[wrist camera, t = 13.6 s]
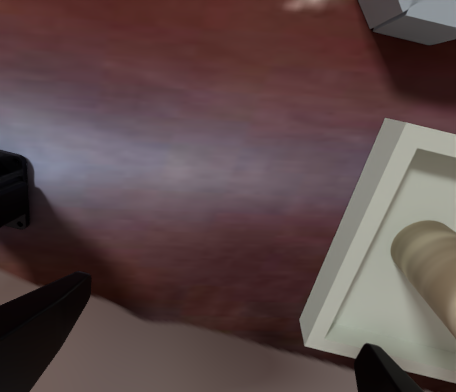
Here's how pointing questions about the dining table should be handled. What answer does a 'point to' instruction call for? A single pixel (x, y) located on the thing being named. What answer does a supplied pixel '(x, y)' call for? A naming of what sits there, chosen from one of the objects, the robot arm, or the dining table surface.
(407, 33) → the slate cup
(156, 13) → the dining table surface
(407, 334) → the sage tray
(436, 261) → the maple dowel
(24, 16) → the dining table surface
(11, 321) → the robot arm
